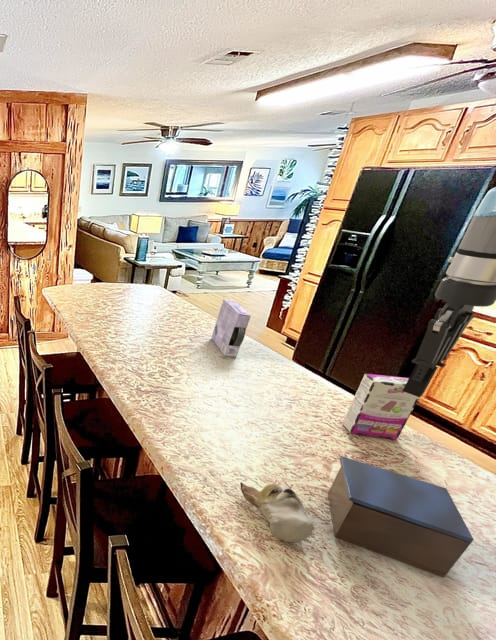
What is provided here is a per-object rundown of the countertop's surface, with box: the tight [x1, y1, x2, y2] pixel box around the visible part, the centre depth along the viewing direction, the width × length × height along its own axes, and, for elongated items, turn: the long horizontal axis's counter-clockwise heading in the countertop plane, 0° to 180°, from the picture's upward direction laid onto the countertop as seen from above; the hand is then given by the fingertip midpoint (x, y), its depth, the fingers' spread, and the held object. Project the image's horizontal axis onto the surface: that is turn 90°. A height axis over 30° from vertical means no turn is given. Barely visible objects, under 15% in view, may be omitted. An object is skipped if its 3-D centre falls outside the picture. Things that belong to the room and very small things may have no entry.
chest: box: [327, 466, 472, 578], centre depth 75 cm, size 16×14×9 cm
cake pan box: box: [210, 298, 251, 358], centre depth 151 cm, size 19×5×18 cm, turn 171°
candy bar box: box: [342, 373, 420, 440], centre depth 103 cm, size 11×5×16 cm, turn 76°
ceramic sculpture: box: [239, 481, 315, 543], centre depth 77 cm, size 11×9×15 cm
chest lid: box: [339, 455, 475, 543], centre depth 72 cm, size 16×14×1 cm
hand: (412, 393), depth 79 cm, fingers closed
